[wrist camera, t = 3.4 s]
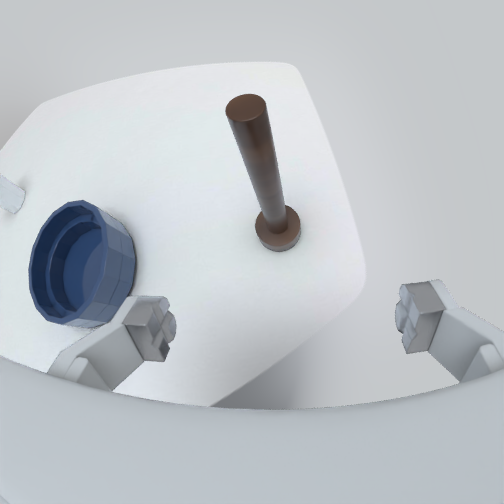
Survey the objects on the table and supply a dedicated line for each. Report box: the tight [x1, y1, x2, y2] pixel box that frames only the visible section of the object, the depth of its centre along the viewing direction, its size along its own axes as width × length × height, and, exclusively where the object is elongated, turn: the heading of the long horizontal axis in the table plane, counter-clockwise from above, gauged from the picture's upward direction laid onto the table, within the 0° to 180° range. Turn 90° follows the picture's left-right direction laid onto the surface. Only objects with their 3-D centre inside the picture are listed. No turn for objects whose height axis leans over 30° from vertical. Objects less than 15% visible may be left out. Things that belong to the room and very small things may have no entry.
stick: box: [225, 94, 301, 252], centre depth 21 cm, size 4×4×18 cm
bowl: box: [28, 200, 135, 328], centre depth 30 cm, size 14×14×6 cm
